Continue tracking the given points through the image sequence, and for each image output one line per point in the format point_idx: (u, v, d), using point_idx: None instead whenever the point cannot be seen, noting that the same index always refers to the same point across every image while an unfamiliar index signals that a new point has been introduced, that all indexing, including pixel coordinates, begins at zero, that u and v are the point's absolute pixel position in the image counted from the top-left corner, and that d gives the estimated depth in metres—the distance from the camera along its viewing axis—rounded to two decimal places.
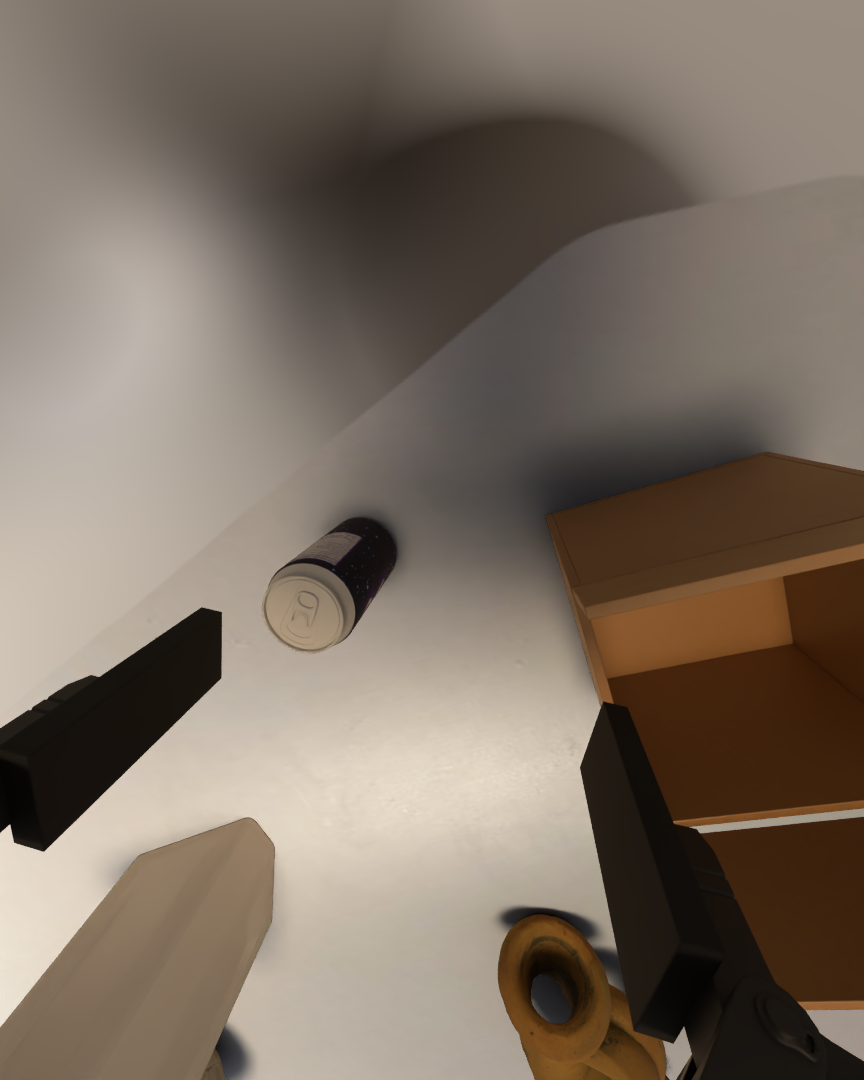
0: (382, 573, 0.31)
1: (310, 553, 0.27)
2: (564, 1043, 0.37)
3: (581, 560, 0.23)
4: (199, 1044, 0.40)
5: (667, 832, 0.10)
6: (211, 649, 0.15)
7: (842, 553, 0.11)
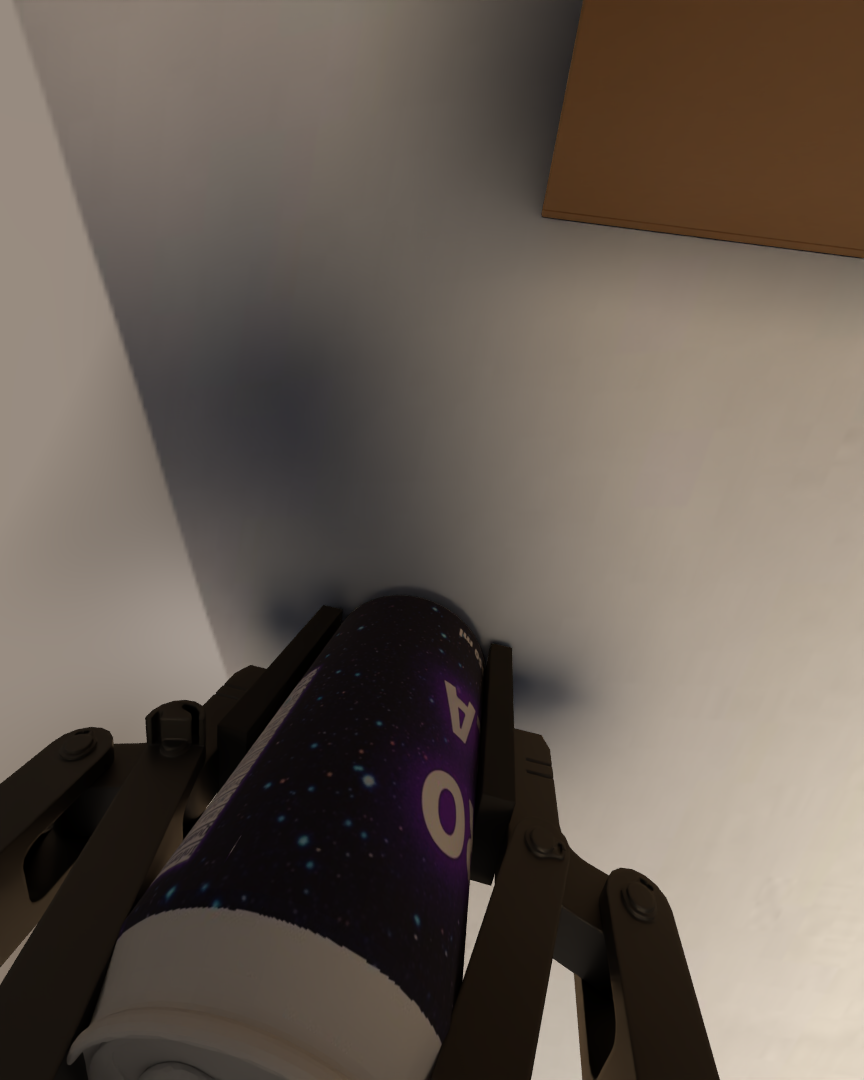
0: (422, 679, 0.11)
1: None
2: None
3: None
4: None
5: (505, 729, 0.12)
6: None
7: None
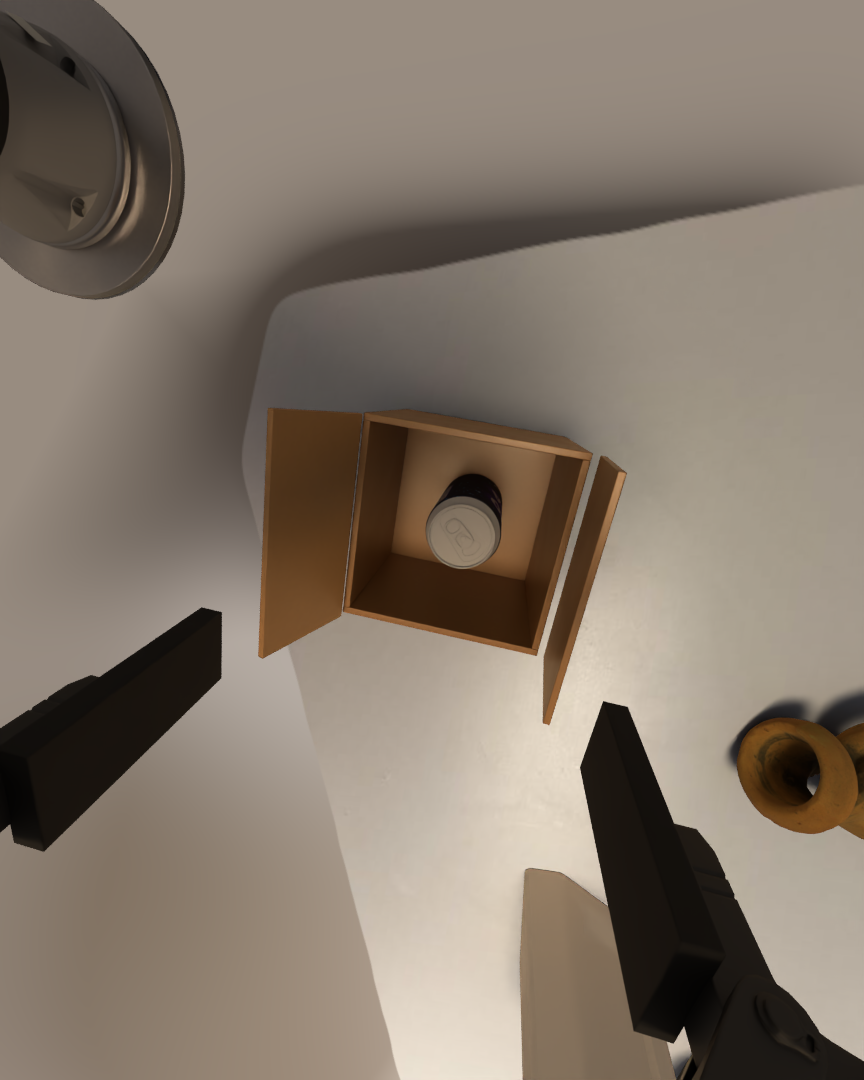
0: (486, 486, 0.37)
1: None
2: (821, 806, 0.37)
3: None
4: (641, 1048, 0.45)
5: (667, 832, 0.10)
6: (211, 649, 0.15)
7: (263, 561, 0.25)
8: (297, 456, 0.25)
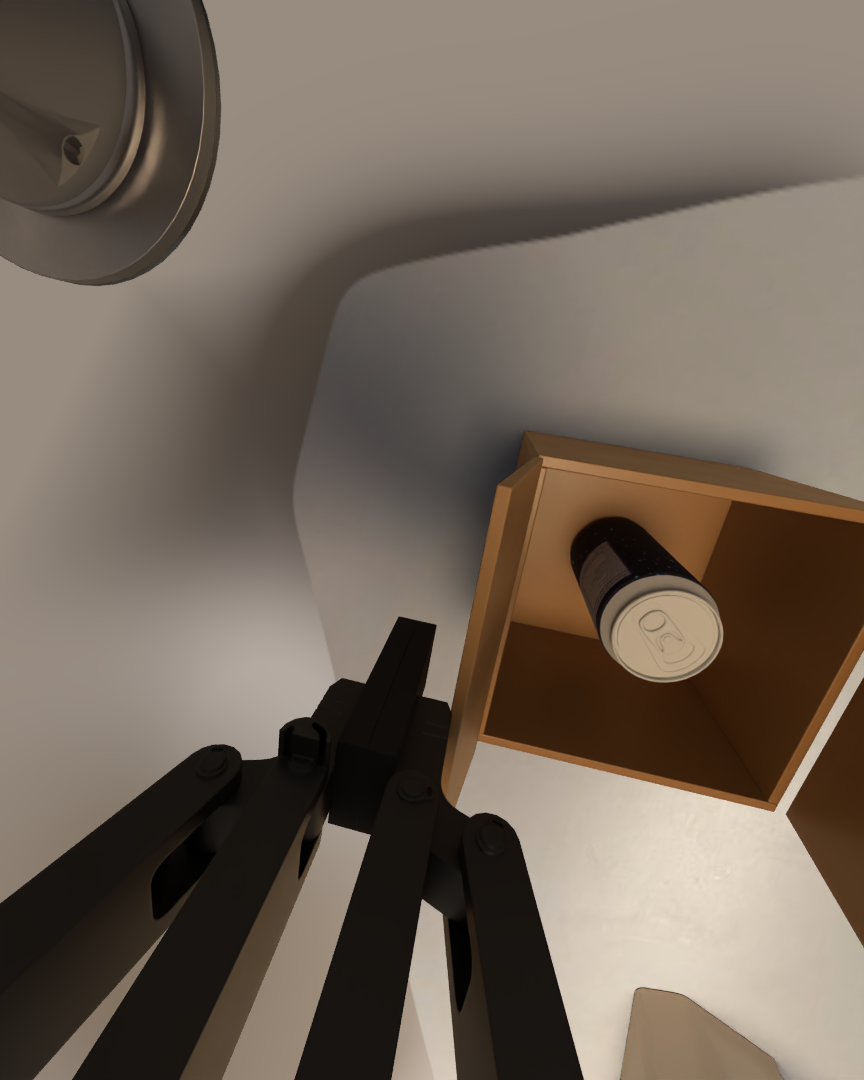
0: (658, 543, 0.26)
1: (598, 591, 0.23)
2: None
3: None
4: None
5: (405, 694, 0.13)
6: None
7: (447, 751, 0.14)
8: (505, 559, 0.13)
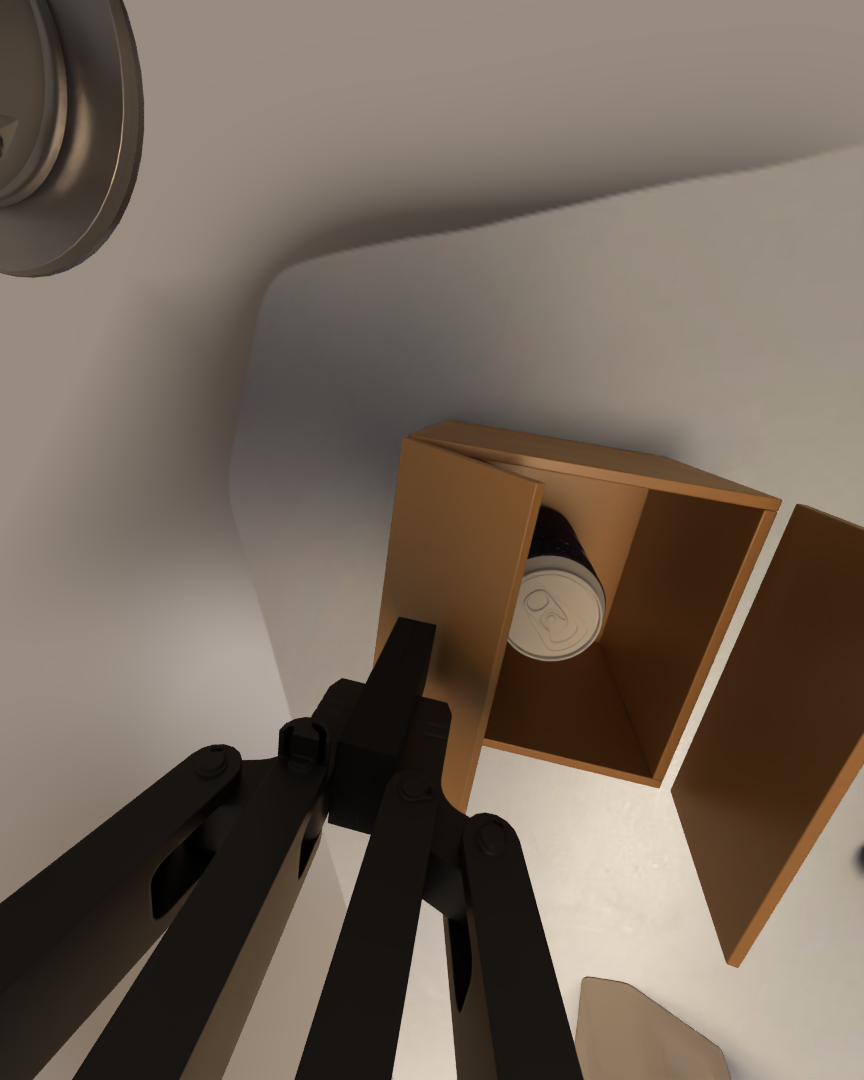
0: (565, 529, 0.27)
1: None
2: None
3: None
4: None
5: (406, 695, 0.13)
6: None
7: (483, 721, 0.15)
8: None
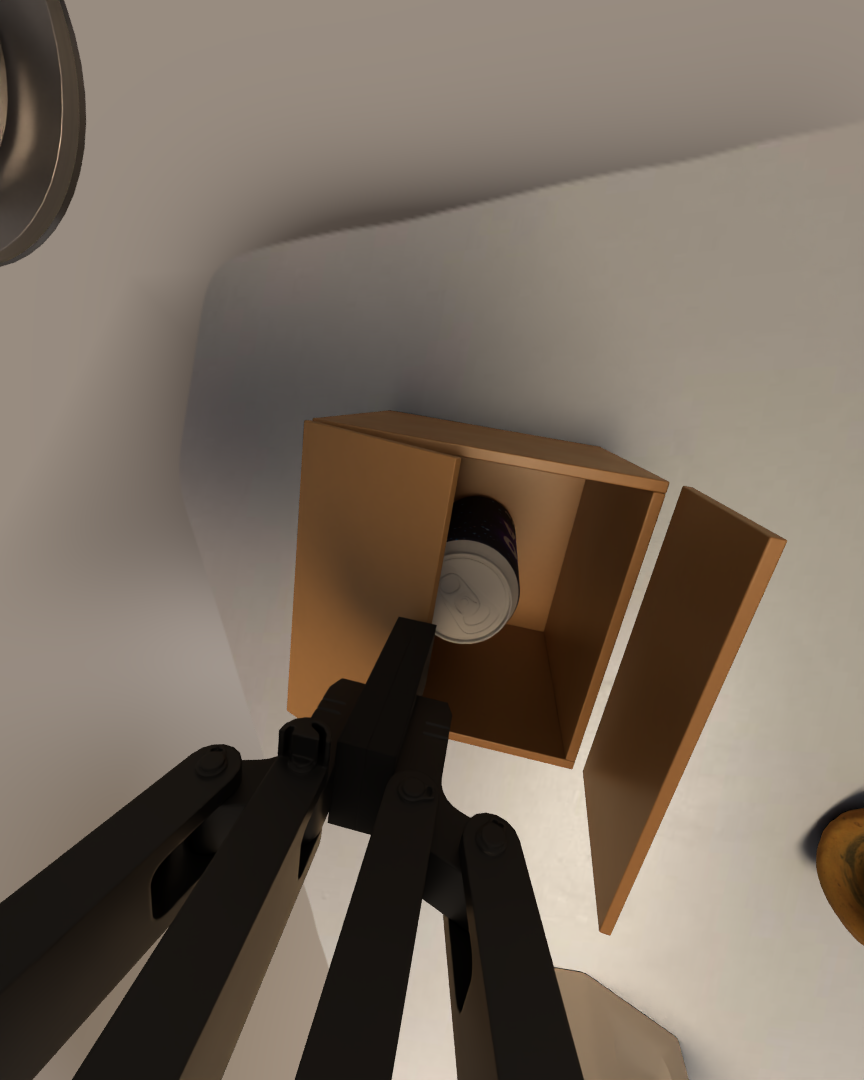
0: (495, 517, 0.27)
1: None
2: None
3: None
4: None
5: (406, 695, 0.13)
6: None
7: None
8: None
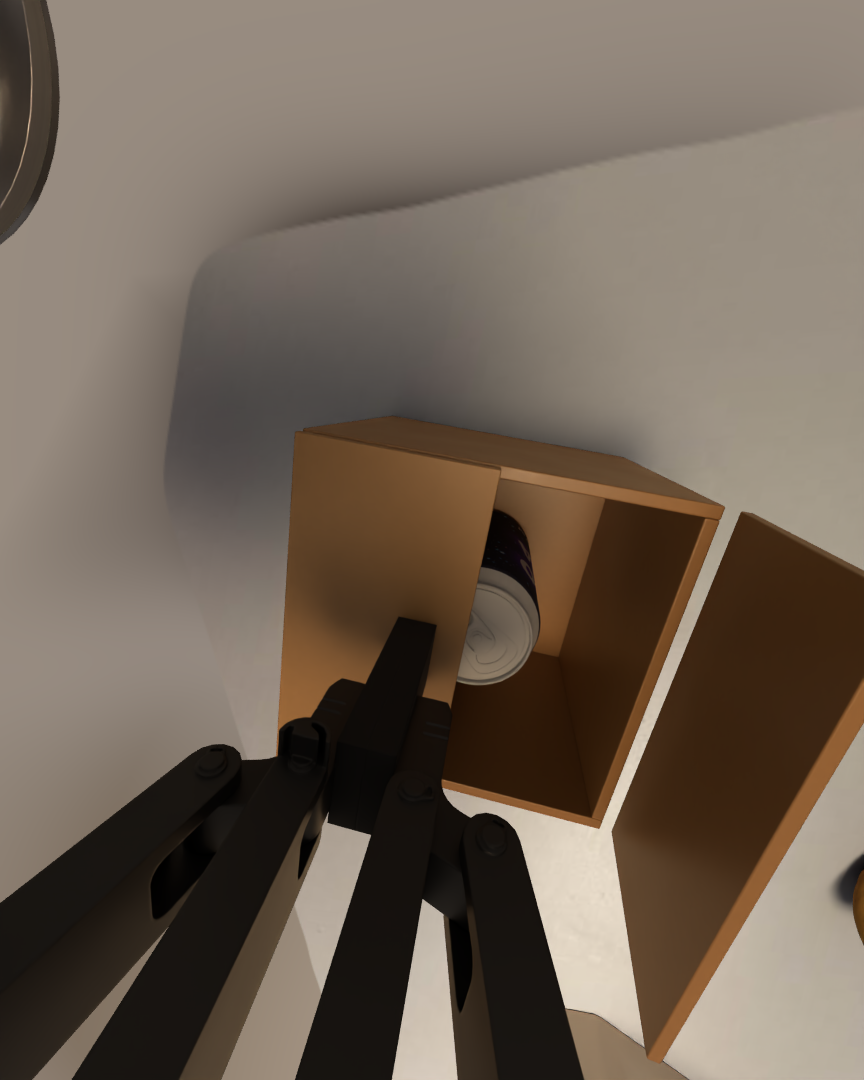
0: (509, 535, 0.24)
1: None
2: None
3: None
4: None
5: (406, 695, 0.13)
6: None
7: None
8: None
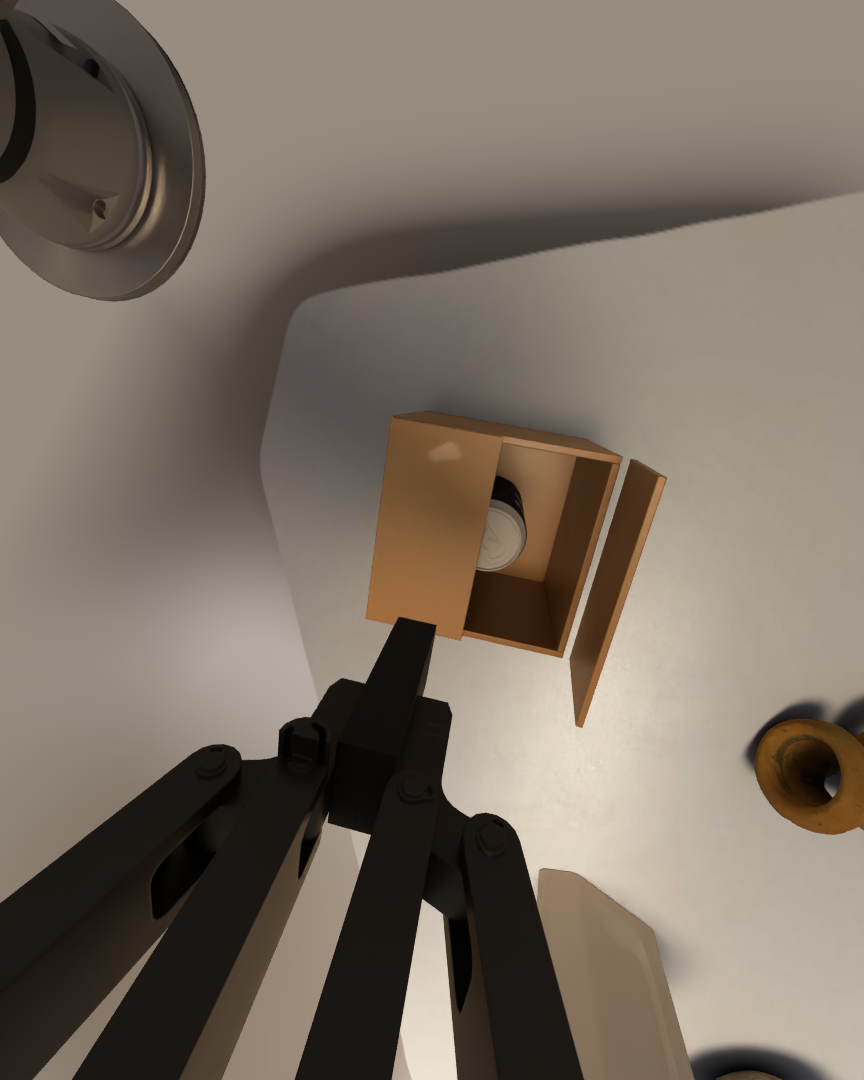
0: (508, 488, 0.37)
1: None
2: (843, 807, 0.37)
3: None
4: (659, 1047, 0.46)
5: (406, 695, 0.13)
6: None
7: (477, 560, 0.31)
8: None
